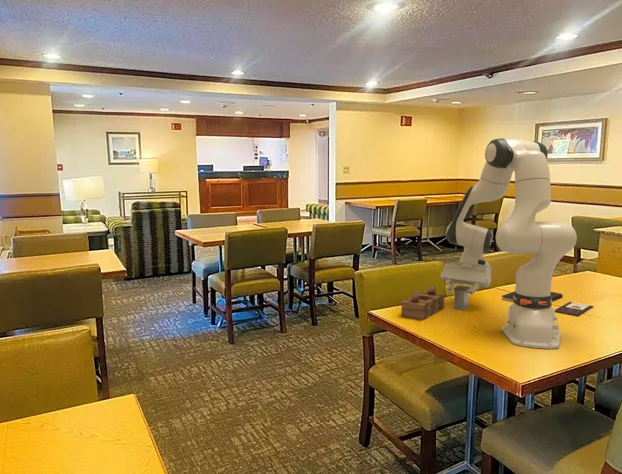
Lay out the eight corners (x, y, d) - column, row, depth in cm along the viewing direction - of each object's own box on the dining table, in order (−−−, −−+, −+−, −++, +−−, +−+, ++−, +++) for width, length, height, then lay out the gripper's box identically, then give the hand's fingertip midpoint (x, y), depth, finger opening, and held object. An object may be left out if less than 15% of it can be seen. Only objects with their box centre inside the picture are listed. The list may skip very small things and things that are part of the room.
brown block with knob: (422, 320, 180) (423, 295, 178) (401, 316, 185) (401, 291, 184) (444, 308, 195) (444, 284, 194) (423, 304, 201) (424, 281, 199)
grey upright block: (463, 310, 192) (464, 289, 190) (453, 309, 194) (454, 287, 193) (468, 307, 196) (469, 286, 194) (458, 306, 198) (459, 285, 197)
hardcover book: (501, 300, 207) (501, 295, 207) (527, 291, 222) (527, 287, 221) (537, 308, 195) (537, 303, 195) (562, 298, 209) (562, 293, 209)
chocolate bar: (553, 310, 188) (569, 301, 201) (553, 312, 189) (569, 303, 201) (578, 315, 182) (593, 306, 194) (578, 317, 182) (593, 308, 194)
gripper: (444, 257, 204) (434, 283, 198) (492, 262, 192) (483, 291, 185) (448, 265, 208) (438, 292, 202) (495, 271, 196) (486, 299, 189)
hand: (460, 291), depth 194 cm, fingers open, 8 cm apart
